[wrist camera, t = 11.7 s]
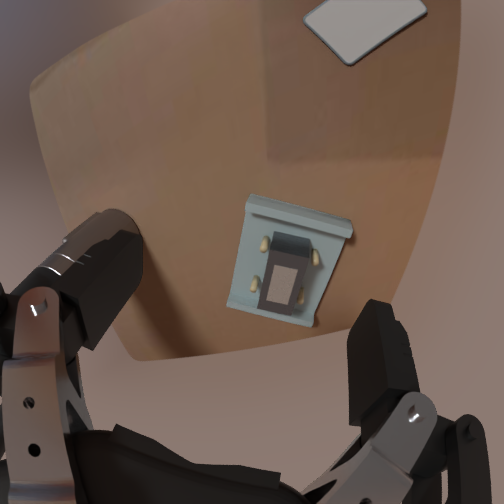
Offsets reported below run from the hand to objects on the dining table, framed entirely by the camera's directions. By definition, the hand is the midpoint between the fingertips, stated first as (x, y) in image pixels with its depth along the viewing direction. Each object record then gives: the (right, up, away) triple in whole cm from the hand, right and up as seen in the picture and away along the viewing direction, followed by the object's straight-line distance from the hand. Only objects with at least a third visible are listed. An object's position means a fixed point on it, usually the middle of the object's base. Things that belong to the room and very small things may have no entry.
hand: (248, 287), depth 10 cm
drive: (+5, -1, +33) cm, 34 cm away
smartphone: (+14, +30, +15) cm, 36 cm away
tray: (+5, 0, +34) cm, 35 cm away
